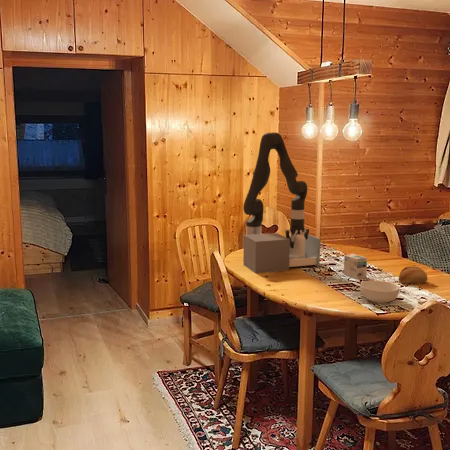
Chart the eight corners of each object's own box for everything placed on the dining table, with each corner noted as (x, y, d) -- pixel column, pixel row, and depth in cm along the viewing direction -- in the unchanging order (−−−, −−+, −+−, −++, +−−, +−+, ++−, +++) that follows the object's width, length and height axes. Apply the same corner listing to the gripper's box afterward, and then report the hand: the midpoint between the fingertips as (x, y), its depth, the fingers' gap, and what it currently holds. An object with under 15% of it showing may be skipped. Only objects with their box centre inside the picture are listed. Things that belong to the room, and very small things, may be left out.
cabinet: (243, 264, 304) (243, 235, 301) (275, 262, 310) (276, 232, 307) (255, 273, 287) (255, 241, 284) (289, 270, 293) (289, 239, 290)
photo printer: (287, 254, 306) (287, 232, 304) (292, 253, 309) (293, 231, 307) (300, 257, 298) (301, 235, 296) (306, 256, 301) (306, 234, 299)
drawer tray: (273, 261, 310) (274, 234, 307) (304, 258, 316) (305, 232, 313) (287, 269, 293) (287, 241, 290) (319, 266, 299) (320, 238, 296)
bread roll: (393, 281, 274) (394, 265, 273) (420, 279, 277) (421, 264, 276) (404, 286, 265) (405, 270, 263) (431, 284, 268) (432, 268, 267)
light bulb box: (366, 277, 279) (367, 257, 277) (356, 279, 276) (357, 258, 274) (353, 272, 289) (353, 253, 287) (342, 274, 286) (343, 254, 284)
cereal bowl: (381, 309, 232) (382, 293, 231) (351, 299, 245) (352, 284, 244) (406, 301, 242) (407, 286, 241) (376, 292, 255) (377, 278, 254)
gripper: (306, 215, 305) (305, 245, 308) (282, 217, 301) (282, 247, 304) (312, 217, 298) (311, 248, 301) (288, 219, 294) (287, 249, 297)
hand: (296, 247), depth 303 cm, fingers closed on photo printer, 5 cm apart
